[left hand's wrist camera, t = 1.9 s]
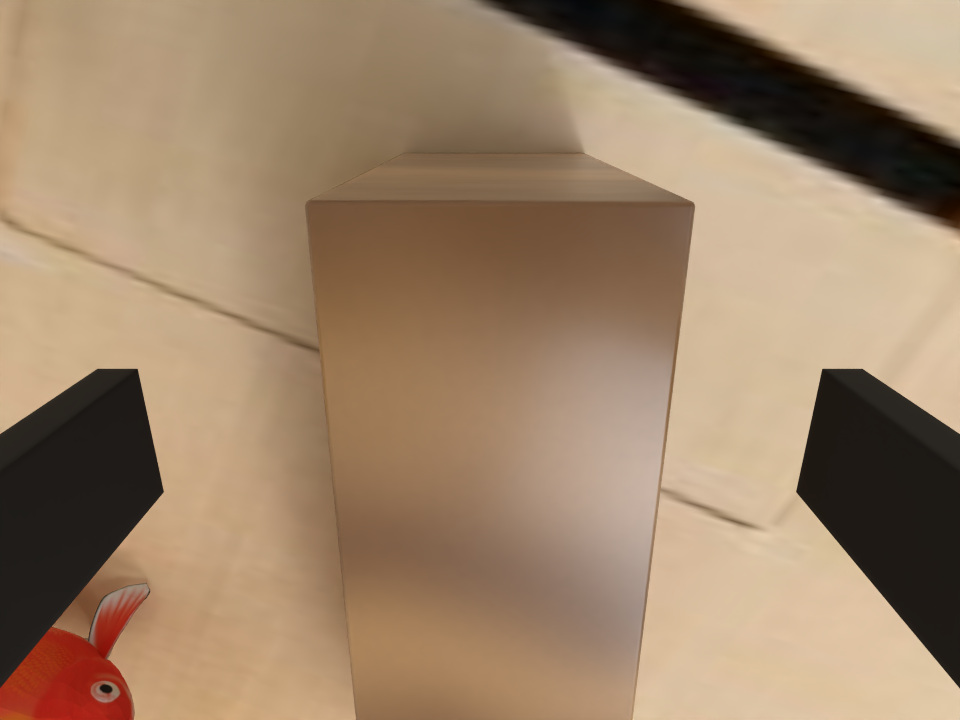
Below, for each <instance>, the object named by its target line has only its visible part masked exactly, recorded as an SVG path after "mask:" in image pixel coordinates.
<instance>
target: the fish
mask: <svg viewBox="0 0 960 720" xmlns="http://www.w3.org/2000/svg"><path fill="white" fill-rule="evenodd" d="M149 593H150V589H149V587H148V585H147V584H146V583H144V584H137V585H130V586H127V587H124V588H121V589H119V590H116V591H114V592H111V593H110V594H108V595H106V596H105V597H104V598H103V599H102V600H101V602H100V604H99V606H98V608H97V611H96V613H95V616H94V619H93V622H92V625H91V629H90V633H89V638H88V639H84V638H82V637H80V636H78V635H75V634H73V633H70V632H67V631H64V630H60V629H57V628H53V627H51V628H50V629H49V630H48V631H47V633H46V634H45V635H44V636H43V637H42V639H41V640H40V641H39V642H38V643H37V645H36V646H35V647H34V648H33V649H32V651H31V652H30V653H29V654H28V655H27V657H26V658H25V659H24V660H23V661H22V663H21V664H20V665H19V666H18V667H17V669H16V670H15V671H14V672H13V673H12V675H11V676H10V677H9V678H8V679H7V681H6V682H5V683H4V684H3V685H2V687H1V688H0V720H134V714H135V711H134V704H133V700H132V695H131V693H130V690H129V688H128V686H127V684H126V682H125V680H124V678H123V677H122V675H121V673H120V671H119V670H118V669H117V668H116V666H115V665H114V664H113V663H112V662H111V661H109V660H107V659H108V658H109V656H110V654H111V652H112V649H113V646H114V644H115V642H116V641H117V639H118V637H119V635H120V634H121V632H122V631H123V629H124V628H125V626H126V625H127V623H128V622H129V620H130V618H131V617H132V615H133V614H134V612H135V611H136V609H137V608H138V607H139V605H140V604H141V603H142V602H143V601H144V600H145V599H146V598H147V596H148V595H149Z"/></svg>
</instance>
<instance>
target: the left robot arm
mask: <svg viewBox="0 0 960 720" xmlns="http://www.w3.org/2000/svg"><path fill="white" fill-rule="evenodd" d="M163 492H164V491H163V486H162V481H161V477H160V472H159V467H158V463H157V458H156V453H155V449H154V444H153V439H152V434H151V430H150V425H149V420H148V416H147V411H146V406H145V402H144V397H143V392H142V387H141V383H140V378H139V373H138V369H97V370H95V371H94V372H92V373H91V374H89V375H88V376H86V377H85V378H83V379H82V380H80V381H79V382H77V383H76V384H74V385H73V386H71V387H70V388H68V389H67V390H65V391H64V392H62V393H61V394H59V395H58V396H56V397H55V398H54V399H52V400H51V401H49V402H48V403H46V404H45V405H43V406H42V407H40V408H39V409H37V410H36V411H34V412H33V413H31V414H30V415H28V416H27V417H25V418H24V419H22V420H21V421H19V422H18V423H16V424H15V425H13V426H12V427H10V428H9V429H7V430H6V431H4V432H3V433H1V434H0V688H1V687H2V685H3V684H4V683H5V682H6V681H7V679H8V678H9V677H10V676H11V675H12V673H13V672H14V671H15V670H16V669H17V667H18V666H19V665H20V664H21V663H22V661H23V660H24V659H25V658H26V657H27V655H28V654H29V653H30V652H31V651H32V649H33V648H34V647H35V646H36V645H37V643H38V642H39V641H40V640H41V639H42V637H43V636H44V635H45V634H46V633H47V631H48V630H49V629H50V628H51V627H52V625H53V624H54V623H55V622H56V621H57V619H58V618H59V617H60V616H61V615H62V613H63V612H64V611H65V610H66V609H67V607H68V606H69V605H70V604H71V603H72V601H73V600H74V599H75V598H76V597H77V595H78V594H79V593H80V592H81V591H82V589H83V588H84V587H85V586H86V585H87V583H88V582H89V581H90V580H91V579H92V577H93V576H94V575H95V574H96V573H97V571H98V570H99V569H100V568H101V567H102V565H103V564H104V563H105V562H106V561H107V559H108V558H109V557H110V556H111V555H112V553H113V552H114V551H115V550H116V549H117V547H118V546H119V545H120V544H121V543H122V541H123V540H124V539H125V538H126V537H127V535H128V534H129V533H130V532H131V531H132V529H133V528H134V527H135V526H136V525H137V523H138V522H139V521H140V520H141V519H142V518H143V516H144V515H145V514H146V513H147V512H148V510H149V509H150V508H151V507H152V506H153V504H154V503H155V502H156V501H157V500H158V498H159V497H160V496H161V495H162V494H163ZM796 492H797V494H798V495H799V496H800V497H801V498H802V500H803V501H804V502H805V503H806V504H807V506H808V507H809V508H810V509H811V510H812V512H813V513H814V514H815V515H816V516H817V518H818V519H819V520H820V521H821V522H822V524H823V525H824V526H825V527H826V528H827V529H828V531H829V532H830V533H831V534H832V535H833V537H834V538H835V539H836V540H837V541H838V543H839V544H840V545H841V546H842V547H843V549H844V550H845V551H846V552H847V553H848V555H849V556H850V557H851V558H852V559H853V561H854V562H855V563H856V564H857V565H858V567H859V568H860V569H861V570H862V571H863V573H864V574H865V575H866V576H867V577H868V579H869V580H870V581H871V582H872V583H873V585H874V586H875V587H876V588H877V589H878V591H879V592H880V593H881V594H882V595H883V597H884V598H885V599H886V600H887V601H888V603H889V604H890V605H891V606H892V607H893V609H894V610H895V611H896V612H897V613H898V615H899V616H900V617H901V618H902V619H903V621H904V622H905V623H906V624H907V625H908V627H909V628H910V629H911V630H912V631H913V633H914V634H915V635H916V636H917V637H918V639H919V640H920V641H921V642H922V643H923V645H924V646H925V647H926V648H927V649H928V651H929V652H930V653H931V654H932V655H933V657H934V658H935V659H936V660H937V661H938V663H939V664H940V665H941V666H942V667H943V669H944V670H945V671H946V672H947V673H948V675H949V676H950V677H951V678H952V679H953V681H954V682H955V683H956V684H957V685H958V687H959V688H960V434H959V433H957V432H956V431H954V430H953V429H951V428H950V427H948V426H947V425H945V424H944V423H942V422H941V421H939V420H938V419H936V418H935V417H933V416H932V415H930V414H929V413H927V412H926V411H924V410H923V409H921V408H920V407H918V406H917V405H915V404H914V403H912V402H911V401H909V400H908V399H906V398H905V397H903V396H902V395H901V394H899V393H898V392H896V391H895V390H893V389H892V388H890V387H889V386H887V385H886V384H884V383H883V382H881V381H880V380H878V379H877V378H875V377H874V376H872V375H871V374H869V373H868V372H866V371H865V370H863V369H822V373H821V378H820V383H819V387H818V392H817V397H816V402H815V406H814V411H813V416H812V420H811V425H810V430H809V434H808V439H807V444H806V448H805V453H804V458H803V463H802V467H801V472H800V477H799V481H798V486H797V491H796Z"/></svg>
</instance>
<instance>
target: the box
mask: <svg viewBox="0 0 960 720" xmlns="http://www.w3.org/2000/svg"><path fill="white" fill-rule="evenodd" d="M305 210H306V220H307V230H308V240H309V250H310V260H311V270H312V280H313V290H314V300H315V310H316V320H317V330H318V340H319V351H320V361H321V371H322V381H323V391H324V401H325V411H326V421H327V431H328V441H329V451H330V461H331V471H332V481H333V491H334V502H335V512H336V522H337V532H338V542H339V552H340V562H341V572H342V582H343V592H344V602H345V612H346V622H347V632H348V642H349V652H350V663H351V673H352V683H353V693H354V703H355V713H356V720H632V718H633V710H634V702H635V693H636V685H637V677H638V669H639V661H640V653H641V644H642V636H643V628H644V620H645V612H646V603H647V595H648V587H649V579H650V571H651V563H652V554H653V546H654V538H655V530H656V522H657V513H658V505H659V497H660V489H661V481H662V473H663V464H664V456H665V448H666V440H667V432H668V424H669V415H670V407H671V399H672V391H673V383H674V374H675V366H676V358H677V350H678V342H679V334H680V325H681V317H682V309H683V301H684V293H685V284H686V276H687V268H688V260H689V252H690V244H691V235H692V227H693V219H694V211H695V205H694V203H693V202H691V201H689V200H687V199H685V198H682V197H680V196H678V195H676V194H673V193H671V192H669V191H667V190H665V189H662V188H660V187H658V186H656V185H653V184H651V183H649V182H647V181H644V180H642V179H640V178H638V177H636V176H633V175H631V174H629V173H627V172H624V171H622V170H620V169H618V168H616V167H613V166H611V165H609V164H607V163H604V162H602V161H600V160H598V159H595V158H593V157H591V156H589V155H587V154H584V153H404V154H401V155H399V156H397V157H395V158H393V159H391V160H389V161H387V162H385V163H383V164H381V165H379V166H377V167H375V168H373V169H371V170H369V171H367V172H365V173H363V174H361V175H359V176H357V177H355V178H353V179H351V180H349V181H347V182H345V183H343V184H341V185H339V186H337V187H335V188H333V189H331V190H329V191H327V192H325V193H323V194H321V195H319V196H317V197H315V198H313V199H311V200H309V201H307V202H306V205H305Z"/></svg>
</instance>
